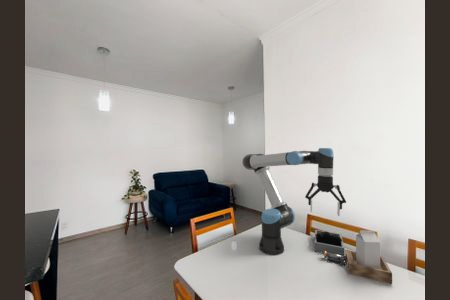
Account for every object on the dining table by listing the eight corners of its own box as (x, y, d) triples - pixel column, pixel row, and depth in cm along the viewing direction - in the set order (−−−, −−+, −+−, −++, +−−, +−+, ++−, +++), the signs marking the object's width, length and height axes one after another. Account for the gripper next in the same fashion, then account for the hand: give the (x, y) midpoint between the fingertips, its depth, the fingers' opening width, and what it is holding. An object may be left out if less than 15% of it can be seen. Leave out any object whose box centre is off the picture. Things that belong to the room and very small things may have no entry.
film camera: (339, 243, 122) (339, 229, 122) (342, 251, 113) (343, 236, 113) (313, 239, 127) (313, 226, 127) (315, 246, 118) (315, 232, 118)
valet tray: (314, 250, 114) (314, 242, 114) (315, 236, 132) (315, 229, 132) (344, 256, 107) (344, 248, 107) (341, 241, 125) (340, 233, 125)
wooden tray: (349, 273, 92) (348, 263, 92) (345, 258, 106) (345, 249, 106) (392, 284, 85) (392, 273, 85) (382, 265, 98) (382, 256, 98)
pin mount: (327, 262, 102) (327, 255, 102) (327, 256, 108) (327, 250, 108) (345, 265, 99) (344, 259, 99) (343, 260, 104) (343, 253, 104)
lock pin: (324, 258, 104) (324, 252, 104) (324, 255, 107) (324, 249, 107) (345, 263, 99) (345, 256, 100) (345, 260, 103) (344, 253, 103)
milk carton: (380, 273, 91) (379, 234, 91) (365, 272, 92) (364, 233, 92) (370, 264, 98) (369, 228, 98) (356, 263, 99) (355, 227, 99)
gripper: (301, 174, 107) (300, 211, 108) (353, 178, 96) (352, 219, 97) (301, 172, 114) (301, 207, 114) (350, 176, 103) (349, 214, 104)
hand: (324, 212), depth 106 cm, fingers open, 13 cm apart
